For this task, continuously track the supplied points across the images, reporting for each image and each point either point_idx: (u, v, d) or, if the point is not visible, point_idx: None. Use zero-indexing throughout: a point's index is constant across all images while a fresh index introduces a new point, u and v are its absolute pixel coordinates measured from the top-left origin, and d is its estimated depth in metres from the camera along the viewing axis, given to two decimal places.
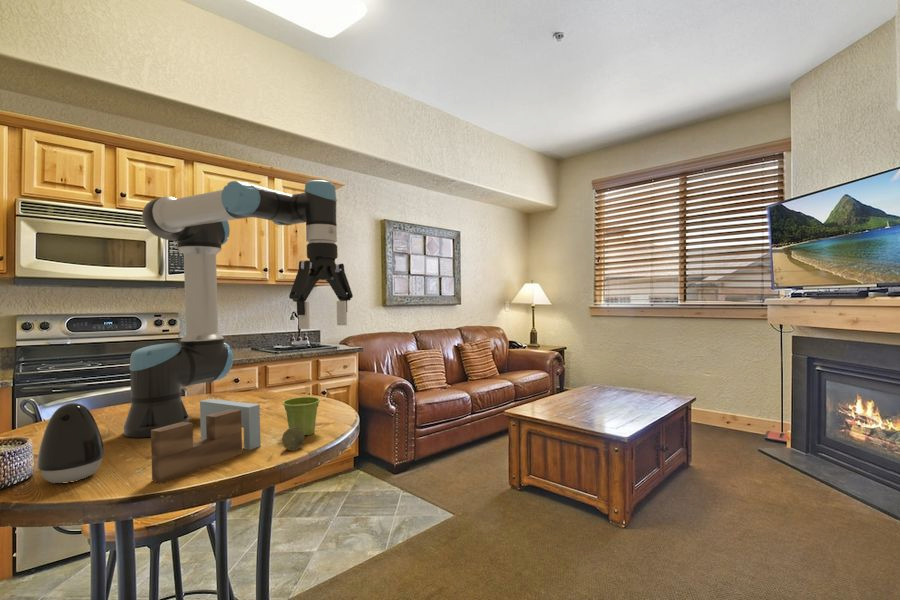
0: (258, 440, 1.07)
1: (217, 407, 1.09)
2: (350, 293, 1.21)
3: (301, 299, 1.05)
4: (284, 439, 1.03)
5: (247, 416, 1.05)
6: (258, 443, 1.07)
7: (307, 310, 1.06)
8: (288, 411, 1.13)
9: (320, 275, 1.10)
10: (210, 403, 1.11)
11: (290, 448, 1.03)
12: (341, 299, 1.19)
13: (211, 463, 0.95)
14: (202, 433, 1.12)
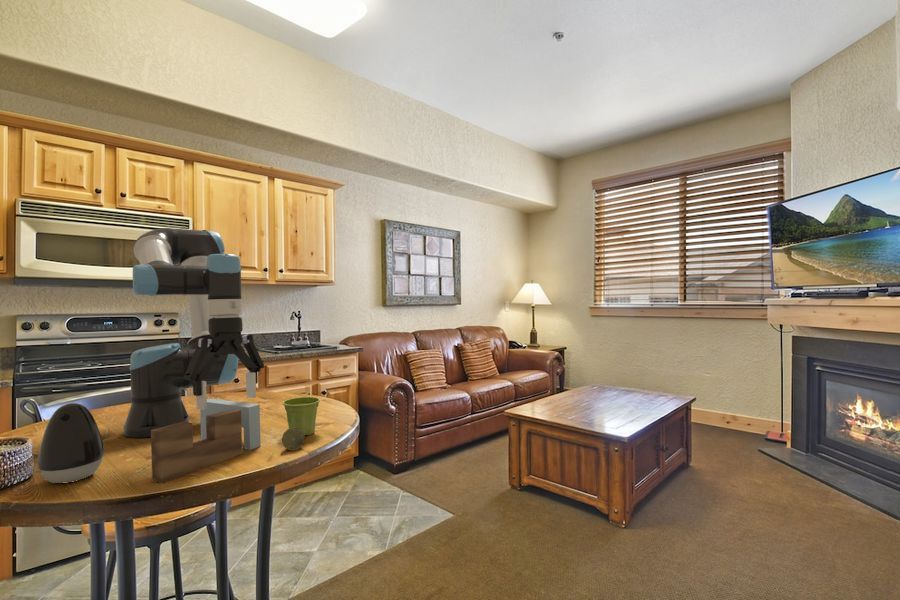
0: (258, 440, 1.07)
1: (217, 407, 1.09)
2: (261, 363, 1.18)
3: (197, 380, 1.02)
4: (284, 439, 1.03)
5: (247, 416, 1.05)
6: (258, 443, 1.07)
7: (203, 391, 1.03)
8: (288, 411, 1.13)
9: (221, 351, 1.07)
10: (210, 403, 1.11)
11: (290, 448, 1.03)
12: (251, 370, 1.16)
13: (211, 463, 0.95)
14: (202, 433, 1.12)
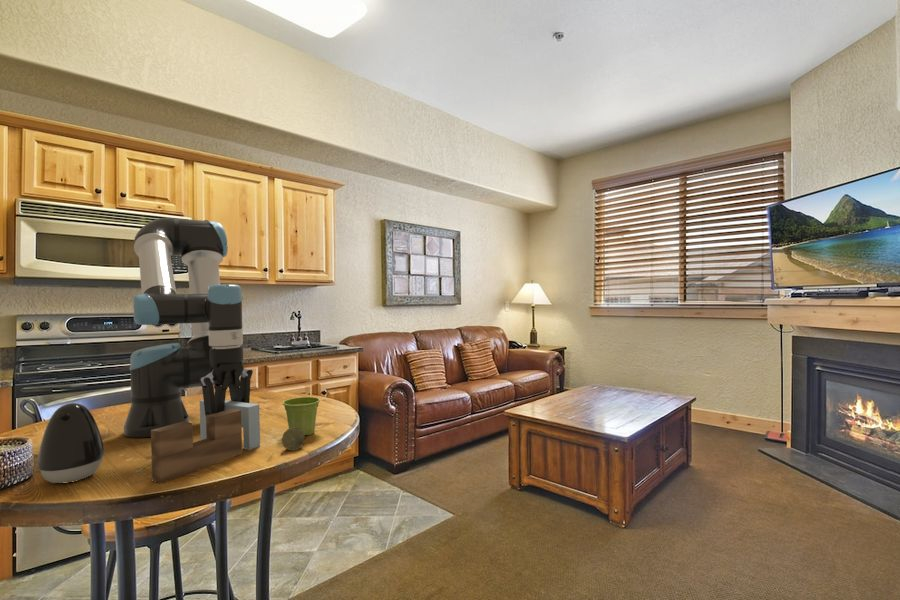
0: (258, 440, 1.07)
1: None
2: None
3: None
4: (284, 439, 1.03)
5: (247, 416, 1.05)
6: (258, 443, 1.07)
7: None
8: (288, 411, 1.13)
9: (226, 384, 1.08)
10: None
11: (290, 448, 1.03)
12: None
13: (211, 463, 0.95)
14: (202, 433, 1.12)
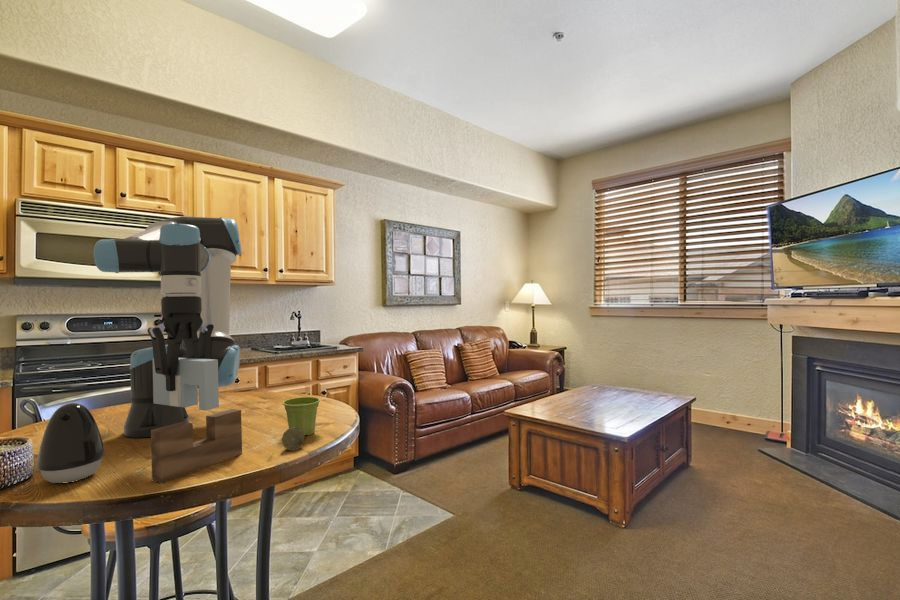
0: (216, 400, 0.93)
1: None
2: None
3: (170, 374, 0.93)
4: (284, 439, 1.03)
5: (202, 371, 0.91)
6: (216, 404, 0.93)
7: (177, 386, 0.94)
8: (288, 411, 1.13)
9: (180, 336, 0.95)
10: None
11: (290, 448, 1.03)
12: None
13: (211, 463, 0.95)
14: (155, 395, 0.99)
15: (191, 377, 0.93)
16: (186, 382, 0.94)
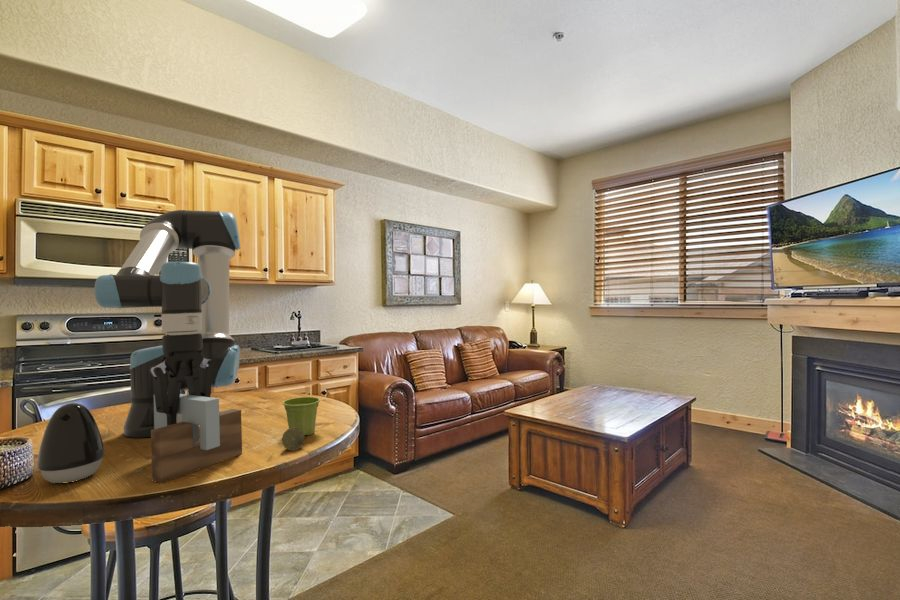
0: (217, 439, 0.93)
1: None
2: None
3: (171, 412, 0.93)
4: (284, 439, 1.03)
5: (203, 411, 0.91)
6: (217, 442, 0.93)
7: None
8: (288, 411, 1.13)
9: (181, 375, 0.95)
10: None
11: (290, 448, 1.03)
12: None
13: (211, 463, 0.95)
14: None
15: (192, 416, 0.93)
16: (187, 421, 0.94)
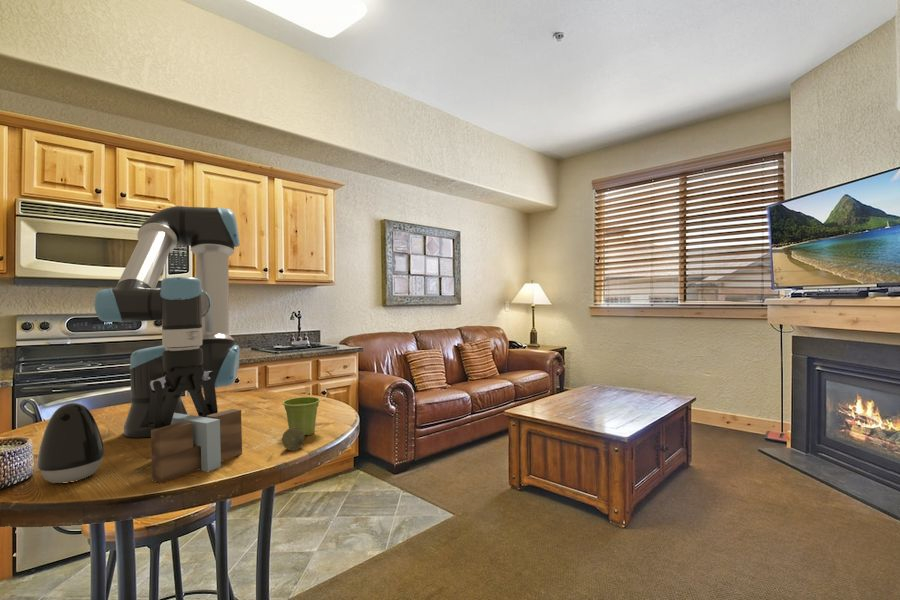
0: (218, 460, 0.94)
1: (173, 423, 0.96)
2: (214, 408, 1.02)
3: None
4: (284, 439, 1.03)
5: (205, 433, 0.92)
6: (218, 463, 0.94)
7: None
8: (288, 411, 1.13)
9: (180, 390, 0.94)
10: None
11: (290, 448, 1.03)
12: None
13: None
14: None
15: (193, 437, 0.93)
16: None
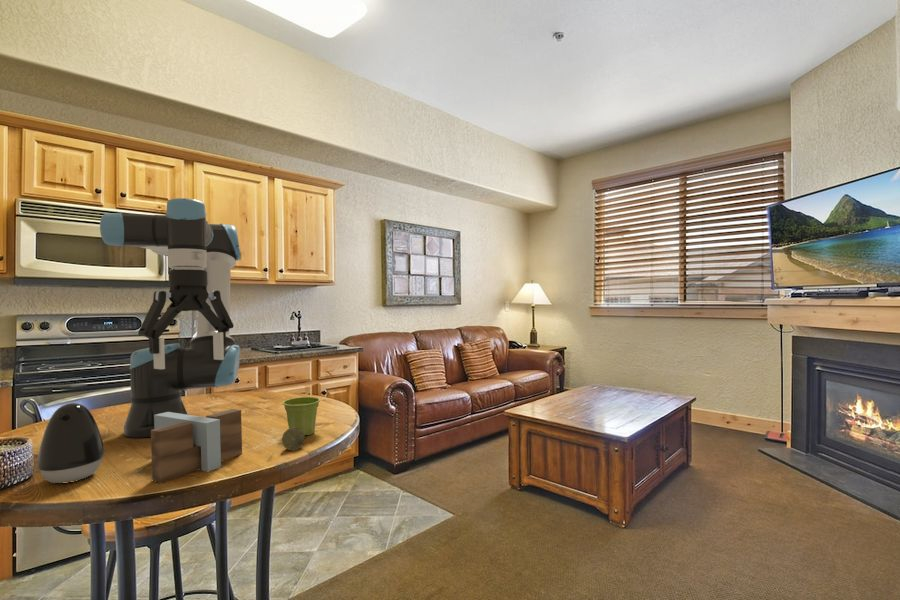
0: (218, 460, 0.94)
1: (173, 423, 0.96)
2: (230, 323, 1.07)
3: (153, 336, 0.92)
4: (284, 439, 1.03)
5: (205, 433, 0.92)
6: (218, 463, 0.94)
7: (161, 348, 0.93)
8: (288, 411, 1.13)
9: (181, 307, 0.97)
10: (165, 417, 0.98)
11: (290, 448, 1.03)
12: (218, 330, 1.06)
13: None
14: None
15: (193, 437, 0.93)
16: None
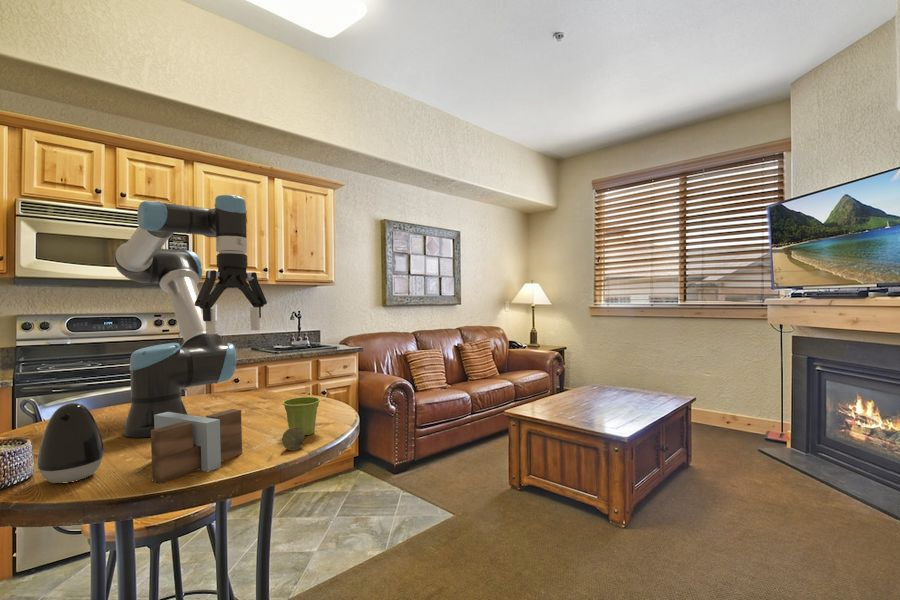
0: (218, 460, 0.94)
1: (173, 423, 0.96)
2: (264, 300, 1.28)
3: (206, 306, 1.13)
4: (284, 439, 1.03)
5: (205, 433, 0.92)
6: (218, 463, 0.94)
7: (212, 317, 1.14)
8: (288, 411, 1.13)
9: (228, 284, 1.17)
10: (165, 417, 0.98)
11: (290, 448, 1.03)
12: (255, 305, 1.27)
13: None
14: None
15: (193, 437, 0.93)
16: None
